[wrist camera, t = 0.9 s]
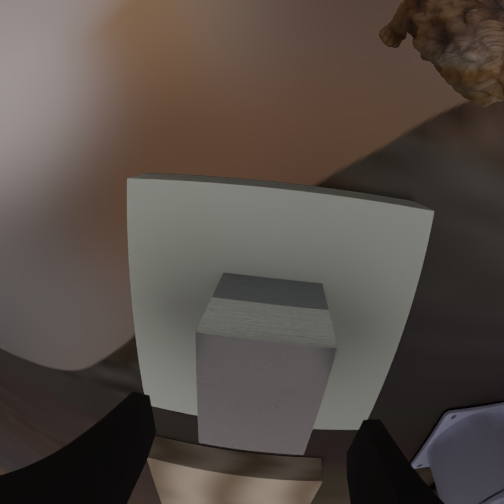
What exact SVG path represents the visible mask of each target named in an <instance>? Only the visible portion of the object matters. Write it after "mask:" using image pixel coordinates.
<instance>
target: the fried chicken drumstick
mask: <svg viewBox="0 0 504 504" xmlns="http://www.w3.org/2000/svg"><path fill="white" fill-rule="evenodd" d="M407 32H408V33H409V34H411V35H412V36H413V45H414V47H415V48H416V49H417V50H418V51H419V52H420V53H421V58H422V59H423V60H427V61H430V62H432V63H433V64H434V66H435V68H436V69H437V70H438V72H439V73H440V74H441V76H442V77H443V78H445V80H446V82H447V83H448V84H450V85H452V86H453V89H454V90H455V91H456V92H458V93H460V94H461V95H462V96H463V97H464V98H466V99H468V100H470V101H471V102H473V103H474V104H477V105H479V106H481V107H486V106H488V105H490V104H492V103H494V102H500V101H503V100H504V0H404V1H403V3H401V4H400V6H399V8H398V10H397V12H396V14H395V15H394V17H393V20H392V21H391V22H390V23H389V24H388V25H387V26H385V27H384V28H383V29H382V30H381V31H380V34H379V36H380V38H381V40H382V42H383V43H384V44H386V45H387V46H389V47H394V48H397V47H399V45H400V43H401V41H402V40H404V39H405V38H406V34H407Z"/></svg>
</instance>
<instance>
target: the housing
mask: <svg viewBox="0 0 504 504" xmlns="http://www.w3.org/2000/svg"><path fill="white" fill-rule="evenodd" d="M336 351H337V344H336V340H335V335H334V331H333V326H332V322H331V318H330V313H329V309H328V305H327V301H326V297H325V293H324V289H323V285H322V283H314V282H304V281H294V280H285V279H276V278H267V277H258V276H249V275H240V274H232V273H223V274H222V276H221V279H220V281H219V283H218V285H217V287H216V289H215V291H214V293H213V296H212V298H211V300H210V302H209V304H208V306H207V308H206V311H205V313H204V315H203V317H202V319H201V321H200V324H199V326H198V328H197V330H196V383H197V412H198V433H199V443H203V444H209V445H215V446H221V447H227V448H234V449H242V450H250V451H259V452H269V453H280V454H296V455H304V452H305V449H306V446H307V444H308V441H309V438H310V435H311V432H312V429H313V426H314V423H315V421H316V417H317V414H318V411H319V408H320V405H321V402H322V399H323V396H324V392H325V389H326V386H327V383H328V379H329V376H330V372H331V369H332V365H333V362H334V358H335V355H336Z"/></svg>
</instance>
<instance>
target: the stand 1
mask: <svg viewBox="0 0 504 504" xmlns="http://www.w3.org/2000/svg"><path fill="white" fill-rule="evenodd" d="M433 216H434V211H433V210H431V209H429V208H427V207H425V206H423V205H421V204H419V203H417V202H415V201H409V200H404V199H398V198H392V197H386V196H380V195H373V194H367V193H360V192H354V191H347V190H339V189H332V188H324V187H316V186H308V185H300V184H291V183H282V182H272V181H262V180H251V179H239V178H228V177H213V176H199V175H182V174H160V173H147V174H142V175H138V176H134V177H130V178H127V230H128V256H129V272H130V286H131V298H132V308H133V318H134V328H135V336H136V344H137V351H138V358H139V365H140V372H141V378H142V384H143V390H144V394H145V395H149V396H150V401H151V406H154V407H159V408H163V409H167V410H172V411H177V412H181V413H186V414H192V415H197V416H198V412H197V383H196V330H197V328H198V326H199V324H200V321H201V319H202V317H203V315H204V313H205V311H206V308H207V306H208V304H209V302H210V300H211V298H212V296H213V293H214V291H215V289H216V287H217V285H218V283H219V281H220V279H221V276H222V274H223V273H232V274H240V275H249V276H258V277H267V278H276V279H285V280H294V281H304V282H314V283H322V285H323V289H324V293H325V297H326V301H327V305H328V309H329V313H330V318H331V322H332V326H333V331H334V335H335V340H336V344H337V351H336V355H335V358H334V362H333V365H332V369H331V372H330V376H329V379H328V383H327V386H326V389H325V392H324V396H323V399H322V402H321V405H320V408H319V411H318V414H317V417H316V421H315V423H314V426H313V429H331V430H359V428H360V426H361V424H362V422H363V420H367V419H368V417H369V415H370V413H371V411H372V409H373V406H374V404H375V402H376V400H377V397H378V395H379V393H380V390H381V388H382V386H383V383H384V381H385V378H386V376H387V373H388V371H389V368H390V366H391V363H392V361H393V358H394V355H395V353H396V350H397V347H398V344H399V341H400V339H401V336H402V333H403V330H404V327H405V324H406V321H407V318H408V315H409V311H410V308H411V305H412V302H413V298H414V295H415V291H416V288H417V284H418V281H419V277H420V273H421V269H422V265H423V261H424V257H425V253H426V249H427V245H428V240H429V235H430V231H431V226H432V221H433Z"/></svg>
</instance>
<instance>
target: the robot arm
mask: <svg viewBox="0 0 504 504" xmlns="http://www.w3.org/2000/svg"><path fill="white" fill-rule="evenodd" d="M155 434H156V428H155V423H154V418H153V413H152V407H151V401H150V396H149V395H145V394H141V393H137V392H132V393H130V394H129V395H128V396H127V397H126V398H125V399H124V400H123V401H122V402H120V403H119V404H118V405H117V406H116V407H115V408H114V409H113V410H112V411H110V412H109V413H108V414H107V415H106V416H105V417H103V418H102V419H101V420H100V421H99V422H97V423H96V424H95V425H94V426H92V427H91V428H90V429H89V430H87V431H86V432H85V433H83V434H82V435H80V436H79V437H78V438H76V439H75V440H73V441H72V442H71V443H69V444H68V445H66V446H65V447H63V448H61V449H60V450H58V451H56V452H55V453H53V454H51V455H49V456H47V457H46V458H44V459H42V460H39V461H37V462H35V463H33V464H31V465H29V466H26V467H24V468H21V469H19V470H16V471H13V472H10V473H7V474H4V475H0V504H127V502H128V500H129V498H130V495H131V493H132V491H133V489H134V487H135V485H136V482H137V480H138V478H139V476H140V474H141V472H142V469H143V467H144V465H145V463H146V461H147V458H148V456H149V453H150V450H151V447H152V444H153V441H154V437H155ZM429 466H430V469H431V472H432V475H433V478H434V482H435V485H436V488H437V492H438V495H439V497H438V496H437V495H436V494H435V493H434V492H433V491H432V490H431V489H430V488H429V487H428V485H427V484H426V483H425V482H424V481H423V480H422V478H421V477H420V476H419V475H418V473H417V472H416V471H415V469H416V468H423V467H429ZM347 480H348V487H349V494H350V501H351V504H504V402H503V403H498V404H492V405H486V406H480V407H473V408H466V409H459V410H450V411H447V412H446V413H444V415H443V416H442V418H441V419H440V421H439V423H438V424H437V426H436V427H435V429H434V430H433V432H432V434H431V435H430V437H429V438H428V440H427V441H426V443H425V444H424V445H423V447H422V448H421V450H420V451H419V453H418V454H417V455H416V457H415V458H414V460H413V461H412V462H411V464H410V463H409V461H408V460H407V459H406V457H405V456H404V454H403V453H402V452H401V450H400V449H399V447H398V446H397V444H396V443H395V441H394V440H393V438H392V437H391V435H390V434H389V432H388V431H387V429H386V428H385V426H384V425H383V423H382V422H381V420H363V422H362V424H361V426H360V428H359V430H358V432H357V434H356V436H355V438H354V440H353V442H352V444H351V446H350V448H349V450H348V452H347Z"/></svg>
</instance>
